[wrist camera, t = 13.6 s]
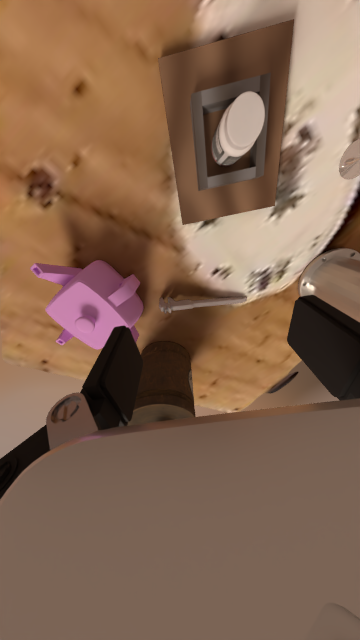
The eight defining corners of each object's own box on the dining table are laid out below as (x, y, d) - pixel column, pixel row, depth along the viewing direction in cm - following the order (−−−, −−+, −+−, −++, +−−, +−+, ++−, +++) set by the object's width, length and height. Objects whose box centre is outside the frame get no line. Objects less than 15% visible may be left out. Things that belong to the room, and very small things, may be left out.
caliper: (160, 300, 40) (158, 314, 35) (160, 296, 40) (157, 309, 34) (245, 300, 41) (255, 313, 35) (246, 296, 40) (257, 309, 35)
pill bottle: (249, 135, 24) (279, 104, 17) (230, 173, 27) (250, 160, 20) (222, 113, 23) (242, 70, 16) (204, 155, 25) (215, 134, 18)
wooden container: (174, 381, 56) (173, 465, 38) (132, 366, 52) (108, 452, 33) (199, 353, 49) (214, 437, 31) (154, 332, 45) (139, 417, 27)
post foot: (286, 31, 21) (308, -5, 17) (270, 206, 30) (282, 205, 27) (159, 67, 22) (156, 41, 18) (182, 224, 31) (183, 225, 28)
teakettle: (143, 329, 44) (133, 365, 34) (75, 321, 43) (43, 356, 32) (147, 264, 35) (135, 285, 25) (61, 250, 34) (10, 268, 23)
